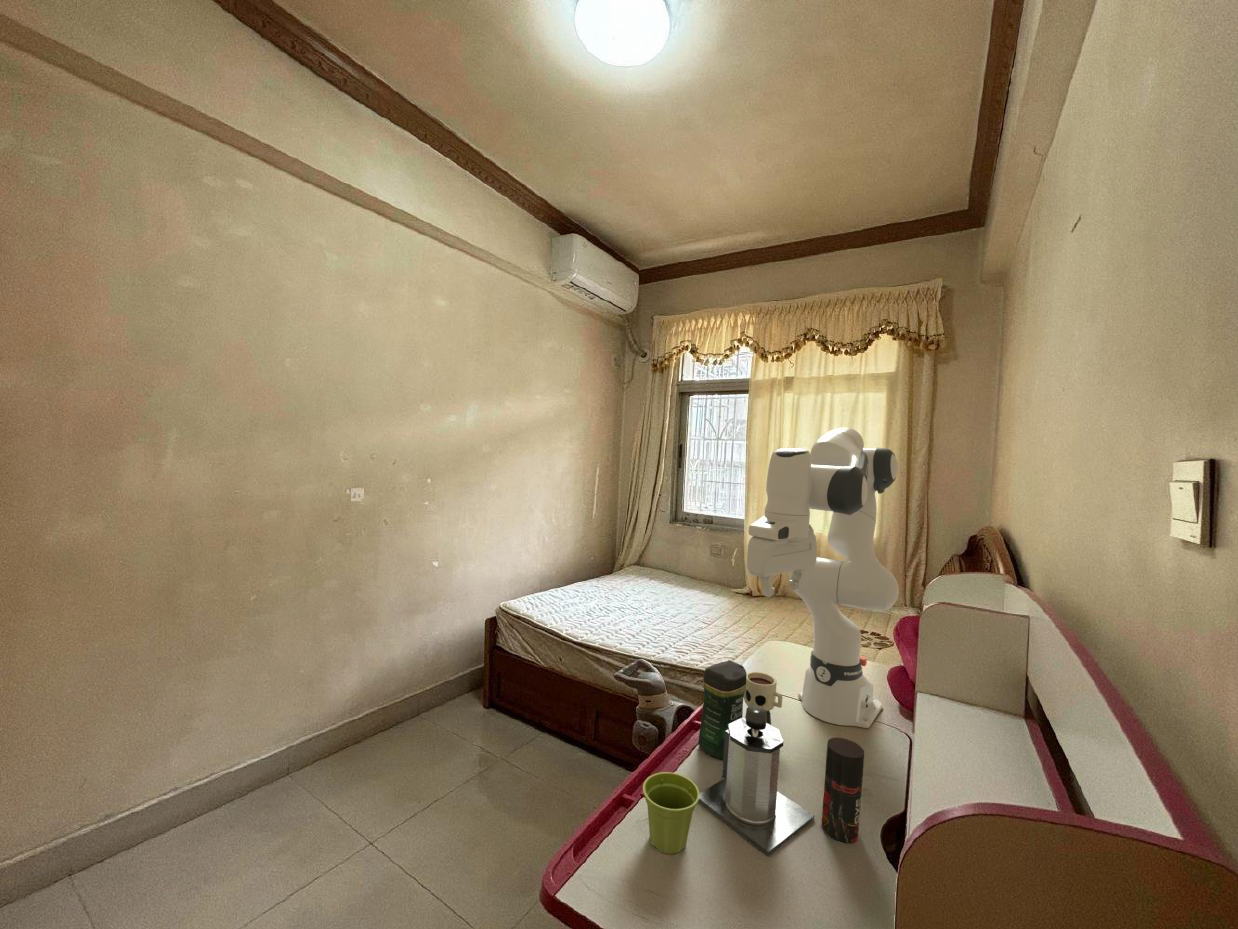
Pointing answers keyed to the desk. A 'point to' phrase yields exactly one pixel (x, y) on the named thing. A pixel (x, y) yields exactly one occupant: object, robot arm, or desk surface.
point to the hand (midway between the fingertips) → (781, 592)
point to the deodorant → (842, 790)
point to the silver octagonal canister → (754, 789)
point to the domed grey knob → (756, 719)
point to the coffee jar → (721, 704)
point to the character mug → (762, 692)
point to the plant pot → (670, 809)
